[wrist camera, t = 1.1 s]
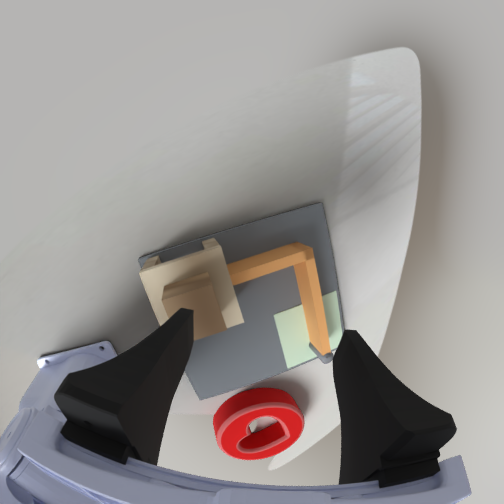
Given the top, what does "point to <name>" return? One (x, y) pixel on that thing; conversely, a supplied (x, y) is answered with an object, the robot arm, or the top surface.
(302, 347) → the end pad
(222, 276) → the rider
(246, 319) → the mat
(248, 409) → the decorative ornament
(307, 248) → the rail
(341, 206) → the top surface
